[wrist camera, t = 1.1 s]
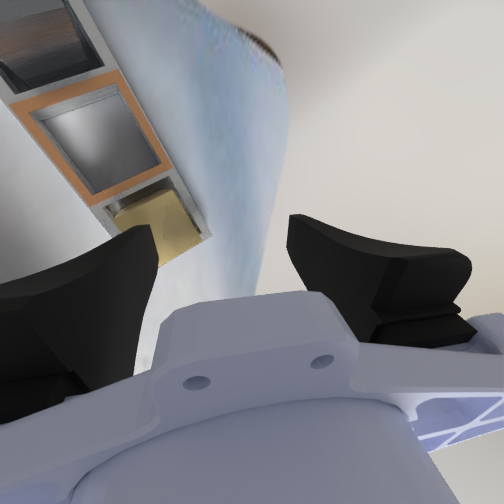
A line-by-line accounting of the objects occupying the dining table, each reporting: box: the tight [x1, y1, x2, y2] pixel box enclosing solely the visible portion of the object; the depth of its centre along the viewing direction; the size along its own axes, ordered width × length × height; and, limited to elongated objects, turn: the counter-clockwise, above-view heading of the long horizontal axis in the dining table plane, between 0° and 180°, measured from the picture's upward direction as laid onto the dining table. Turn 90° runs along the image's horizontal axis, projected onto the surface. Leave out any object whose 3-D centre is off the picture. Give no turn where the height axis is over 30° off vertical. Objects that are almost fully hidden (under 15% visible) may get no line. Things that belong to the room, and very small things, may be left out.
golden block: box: [113, 188, 202, 267], centre depth 17 cm, size 4×4×6 cm
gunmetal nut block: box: [0, 0, 92, 89], centre depth 11 cm, size 4×4×6 cm
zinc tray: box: [0, 0, 213, 268], centre depth 16 cm, size 7×20×2 cm, turn 25°
